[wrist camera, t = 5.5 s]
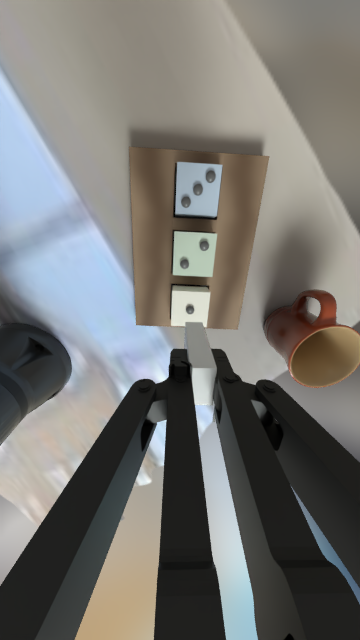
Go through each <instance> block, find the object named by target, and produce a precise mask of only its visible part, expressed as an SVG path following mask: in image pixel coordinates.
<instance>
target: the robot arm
mask: <svg viewBox="0 0 360 640" xmlns="http://www.w3.org/2000/svg"><path fill="white" fill-rule="evenodd" d="M71 371H72V367H71V361H70V358H69V356H68V354H67V352H66V350H65V349H64V347H63V346H62V345H61V344H60V343H59V342H58V341H57V340H56V339H55V338H54V337H52V336H51V335H50V334H48V333H46V332H45V331H43V330H41V329H39V328H36V327H33V326H30V325H26V324H19V323H11V324H5V325H1V326H0V445H1V444H2V443H3V442H4V440H5V439H6V438H7V437H8V436H9V435H10V433H11V432H12V431H13V430H14V429H15V427H16V426H17V425H18V424H19V423H20V422H21V420H22V419H23V418H24V417H25V416H26V415H27V414H28V413H30V412H31V411H33V410H35V409H36V408H38V407H39V406H40V405H42V404H43V403H44V402H46V401H47V400H49V399H51V398H53V397H54V396H56V395H57V394H58V393H59V392H60V391H61V390H62V389H63V387H64V386H65V385H66V383H67V382H68V381H69V379H70V376H71ZM213 399H214V404H215V406H214V414H213V422H215V419H216V423H217V428H218V433H219V438H220V442H221V447H222V452H223V456H224V461H225V466H226V470H227V475H228V480H229V484H230V489H231V494H232V498H233V502H234V507H235V512H236V517H237V522H238V526H239V531H240V535H241V540H242V545H243V549H244V554H245V559H246V563H247V568H248V573H249V577H250V582H251V587H252V592H253V599H254V613H255V623H256V631H257V636H258V640H360V604H359V602H358V600H357V598H356V596H355V594H354V592H353V591H352V589H351V587H350V585H349V584H348V582H347V580H346V578H345V577H344V576H343V575H342V573H341V572H340V571H339V569H338V568H337V567H336V566H335V565H333V564H332V563H331V562H329V561H328V560H327V559H326V558H325V556H324V555H323V554H322V552H321V550H320V548H319V546H318V544H317V542H316V540H315V537H314V535H313V533H312V531H311V529H310V527H309V525H308V523H307V520H306V518H305V516H304V514H303V512H302V509H301V507H300V505H299V503H298V501H297V499H296V496H295V494H294V492H293V490H292V488H293V489H294V491H295V492H296V494H297V495H298V497H299V498H300V499H301V501H302V502H303V504H304V506H305V507H306V509H307V510H308V511H309V513H310V515H311V516H312V517H313V519H314V520H315V522H316V523H317V525H318V526H319V528H320V529H321V531H322V532H323V534H324V535H325V537H326V538H327V540H328V541H329V543H330V544H331V546H332V547H333V549H334V550H335V552H336V553H337V555H338V556H339V558H340V559H341V561H342V562H343V564H344V565H345V567H346V568H347V570H348V571H349V573H350V574H351V576H352V577H353V579H354V580H355V582H356V583H357V584H358V586H359V588H360V462H358V461H357V460H356V459H355V458H354V457H353V456H352V455H351V454H350V453H349V452H348V451H347V450H346V449H345V448H344V447H343V446H342V445H341V444H340V443H339V442H337V440H335V439H334V438H333V437H332V436H331V435H330V434H329V433H328V432H327V431H326V430H325V429H324V428H323V427H322V426H321V425H320V424H319V423H318V422H317V421H316V420H315V419H314V418H312V417H311V416H310V415H309V414H308V413H307V412H306V411H305V410H304V409H303V408H302V407H301V406H300V405H299V404H298V403H297V402H296V401H294V399H293V398H292V397H291V396H289V395H288V394H287V393H286V392H285V391H284V390H283V389H282V388H281V387H280V386H279V385H278V384H276V383H275V382H272V381H270V380H259V381H258V382H257V383H256V385H253V384H249V383H246V382H243V381H242V380H241V378H240V377H239V376H238V375H237V374H235V373H234V372H233V369H232V367H231V365H230V363H229V360H228V358H227V356H226V353H225V352H224V351H223V350H221V349H211V348H210V345H209V342H208V338H207V335H206V332H205V329H204V326H203V323H202V322H185V343H184V349H173V350H172V351H171V355H170V365H169V377H168V378H167V379H166V380H165V381H163V382H161V383H157V384H155V382H154V381H152V380H150V379H141V380H138V381H136V382H135V383H134V384H133V385H132V387H131V388H130V390H129V391H128V393H127V394H126V396H125V397H124V399H123V400H122V402H121V403H120V405H119V406H118V408H117V409H116V411H115V412H114V414H113V415H112V417H111V418H110V420H109V421H108V423H107V425H106V426H105V428H104V429H103V431H102V432H101V434H100V435H99V437H98V438H97V440H96V441H95V443H94V444H93V446H92V447H91V449H90V450H89V452H88V453H87V455H86V456H85V458H84V459H83V461H82V463H81V464H80V466H79V467H78V469H77V470H76V472H75V473H74V475H73V476H72V478H71V479H70V481H69V482H68V484H67V485H66V487H65V488H64V490H63V491H62V493H61V494H60V496H59V497H58V499H57V501H56V502H55V504H54V505H53V507H52V508H51V510H50V511H49V513H48V514H47V516H46V517H45V519H44V520H43V522H42V523H41V525H40V526H39V528H38V529H37V531H36V532H35V534H34V536H33V537H32V539H31V540H30V542H29V543H28V545H27V546H26V548H25V549H24V551H23V552H22V554H21V555H20V557H19V558H18V560H17V561H16V563H15V564H14V566H13V567H12V569H11V570H10V572H9V574H8V575H7V577H6V578H5V580H4V581H3V583H2V584H1V586H0V640H74V639H75V637H76V634H77V632H78V629H79V627H80V624H81V621H82V619H83V616H84V613H85V611H86V608H87V606H88V603H89V600H90V598H91V595H92V593H93V590H94V587H95V584H96V582H97V579H98V577H99V574H100V572H101V569H102V566H103V564H104V561H105V559H106V556H107V553H108V550H109V548H110V545H111V543H112V540H113V538H114V535H115V532H116V530H117V527H118V524H119V522H120V519H121V517H122V514H123V511H124V509H125V506H126V503H127V501H128V498H129V496H130V493H131V491H132V488H133V485H134V483H135V480H136V477H137V475H138V472H139V470H140V467H141V464H142V462H143V459H144V457H145V454H146V451H147V449H148V446H149V443H150V441H151V438H152V436H153V433H154V430H155V428H156V425H157V422H160V421H163V420H166V419H167V423H166V441H165V460H164V479H163V499H162V517H161V536H160V555H159V567H158V578H157V593H156V611H155V629H154V640H226V636H225V629H224V620H223V612H222V604H221V596H220V589H219V583H218V577H217V571H216V567H215V565H214V562H213V557H212V551H211V542H210V533H209V524H208V517H207V508H206V498H205V489H204V482H203V472H202V463H201V454H200V446H199V437H198V428H197V419H196V411H195V405H213ZM276 420H277V421H278V422H277V421H276ZM290 485H291V486H292V488H291V486H290Z"/></svg>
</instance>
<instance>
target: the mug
mask: <svg viewBox="0 0 360 640" xmlns="http://www.w3.org/2000/svg"><path fill="white" fill-rule="evenodd" d="M310 297H312V298H315V299H317V300H318V301H319V302H320V305H321V310H320V314H319V316H318V317H317V316H315V315H314V314H312V313H310V312H309V311H307V302H308V300H309V298H310ZM336 309H337V305H336V300H335V298H334V297H333V295H331V294H330V293H328V292H326V291H323V290H317V289H314V290H307V291H304V292H302V293H301V294H299V295H298V297H297V298H296V300H295V302H294V303H293V305H292V306H285V307H281V308H278V309H277V310H275V311H274V312H272V313H271V314H270V315H269V317H268V318H267V320H266V322H265V325H264V333H265V336H266V338H267V340H268V342H269V344H270V345H271V346H272V347H273V348H274V349H275V350H276V351H277V352H278V353H279V354H280V355H281V356H282V357H283V358H284V359H285V361H286V363H287V366H288V369H289V372H290V374H291V376H292V377H293V379H294V380H295V381H297V382H298V383H299V384H301V385H304V386H307V387H314V388H317V387H318V388H319V387H326V386H330V385H333V384H335V383H338V382H340V381H342V380H343V379H345V378H346V377H348V376H349V375H350V374H351V373H353V371H354V370H355V369H356V368H357V367H358V365H359V364H360V334H359V333H358V332H357V331H356V330H354V329H353V328H351V327H349V326H346V325H341V324H338V323H337V322H336V318H337V317H336Z"/></svg>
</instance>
